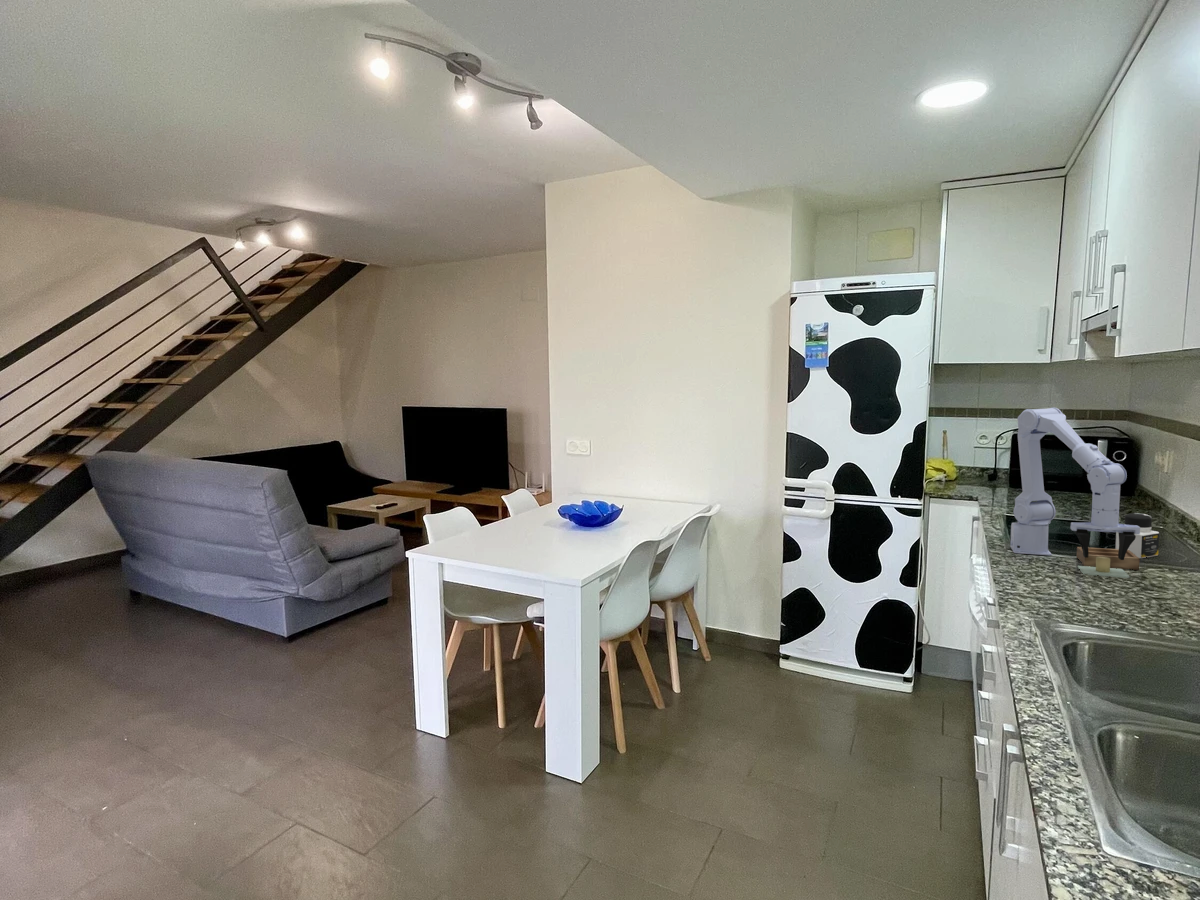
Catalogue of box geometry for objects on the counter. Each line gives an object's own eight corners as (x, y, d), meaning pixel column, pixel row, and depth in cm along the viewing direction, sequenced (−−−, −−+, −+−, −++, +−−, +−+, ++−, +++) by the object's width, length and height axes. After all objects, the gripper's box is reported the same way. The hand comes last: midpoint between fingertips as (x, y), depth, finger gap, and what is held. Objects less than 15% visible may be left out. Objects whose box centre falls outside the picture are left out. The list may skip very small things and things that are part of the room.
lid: (1082, 576, 169) (1083, 560, 168) (1077, 569, 175) (1078, 553, 174) (1129, 579, 164) (1129, 563, 164) (1122, 572, 170) (1122, 556, 170)
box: (1084, 566, 175) (1084, 555, 175) (1076, 557, 183) (1077, 546, 183) (1139, 570, 170) (1139, 558, 169) (1128, 561, 178) (1129, 549, 177)
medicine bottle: (1141, 558, 179) (1143, 518, 178) (1114, 552, 186) (1116, 513, 185) (1158, 555, 181) (1160, 515, 180) (1131, 549, 188) (1133, 511, 187)
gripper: (1075, 510, 167) (1073, 559, 168) (1145, 513, 160) (1142, 564, 162) (1069, 505, 173) (1067, 552, 175) (1136, 507, 167) (1133, 556, 168)
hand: (1103, 557), depth 169 cm, fingers open, 7 cm apart
